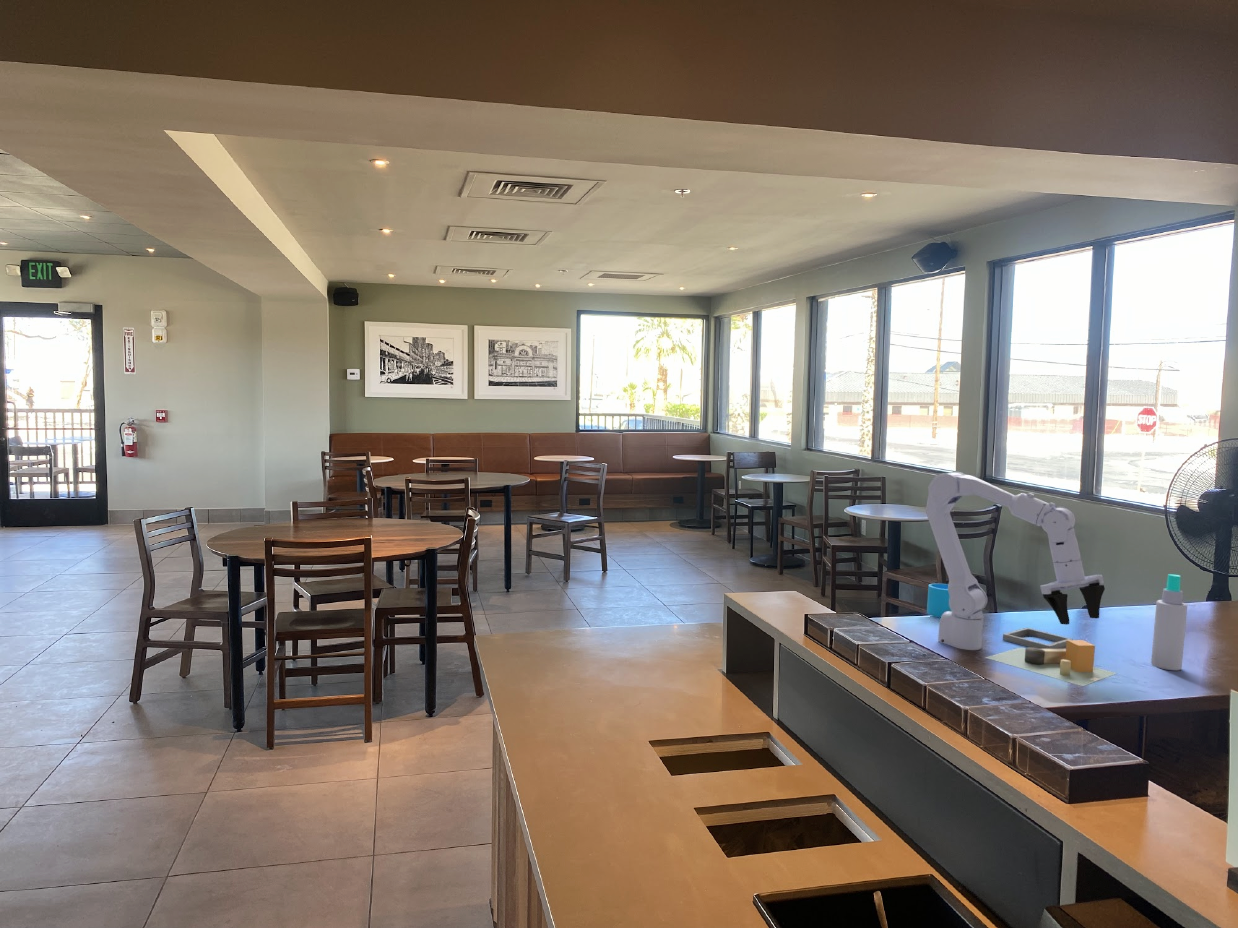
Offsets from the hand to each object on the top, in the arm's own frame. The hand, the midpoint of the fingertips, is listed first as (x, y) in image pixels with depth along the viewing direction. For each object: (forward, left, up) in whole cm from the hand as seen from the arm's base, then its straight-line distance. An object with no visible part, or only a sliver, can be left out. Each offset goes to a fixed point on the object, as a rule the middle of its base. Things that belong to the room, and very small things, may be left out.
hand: (1079, 620), depth 184 cm
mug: (-46, +23, -13) cm, 53 cm away
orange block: (0, +1, -11) cm, 11 cm away
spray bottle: (+8, +27, -13) cm, 31 cm away
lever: (-5, +1, -11) cm, 12 cm away
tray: (-16, +14, -13) cm, 24 cm away
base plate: (-5, -2, -13) cm, 14 cm away
